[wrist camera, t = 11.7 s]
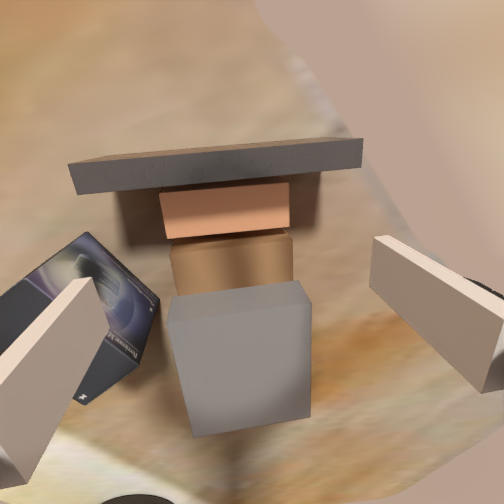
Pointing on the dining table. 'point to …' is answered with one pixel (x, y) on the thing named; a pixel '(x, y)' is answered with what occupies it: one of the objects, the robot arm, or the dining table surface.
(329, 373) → the dining table surface
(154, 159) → the bar
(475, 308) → the robot arm
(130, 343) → the small box
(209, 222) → the block
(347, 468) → the dining table surface
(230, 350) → the slab
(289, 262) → the bed
